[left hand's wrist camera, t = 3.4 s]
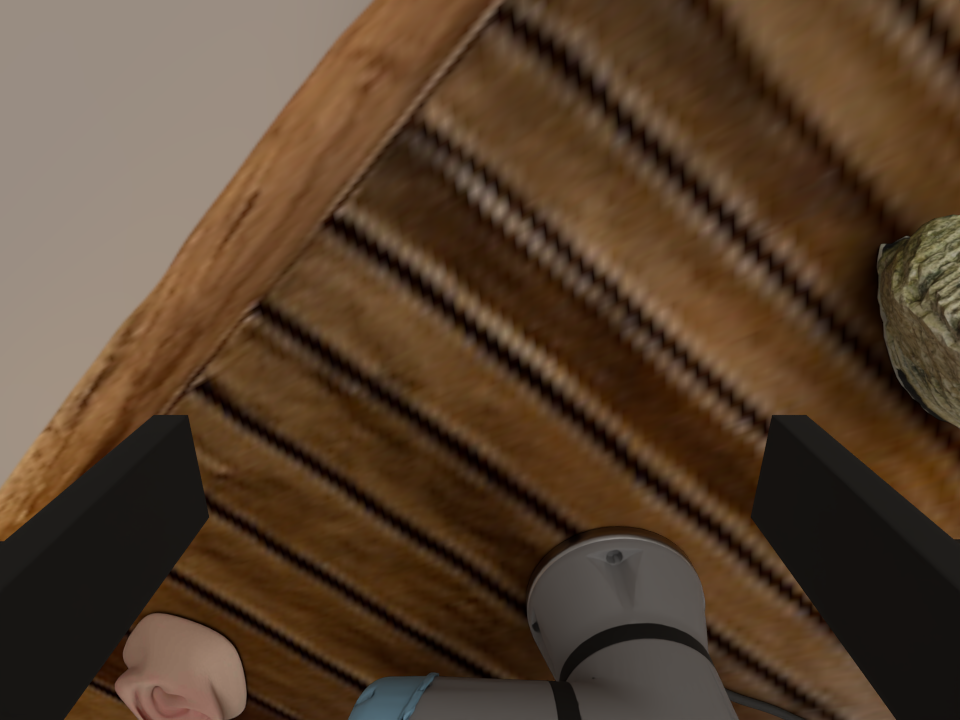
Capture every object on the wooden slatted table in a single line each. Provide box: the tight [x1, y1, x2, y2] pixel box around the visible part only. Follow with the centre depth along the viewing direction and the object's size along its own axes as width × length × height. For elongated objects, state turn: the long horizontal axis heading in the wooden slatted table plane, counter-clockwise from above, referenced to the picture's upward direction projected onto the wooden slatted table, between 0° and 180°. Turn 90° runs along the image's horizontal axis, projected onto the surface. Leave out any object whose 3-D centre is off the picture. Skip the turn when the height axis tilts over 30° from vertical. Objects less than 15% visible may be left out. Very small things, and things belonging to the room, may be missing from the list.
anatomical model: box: [115, 613, 247, 720], centre depth 52 cm, size 13×4×12 cm
